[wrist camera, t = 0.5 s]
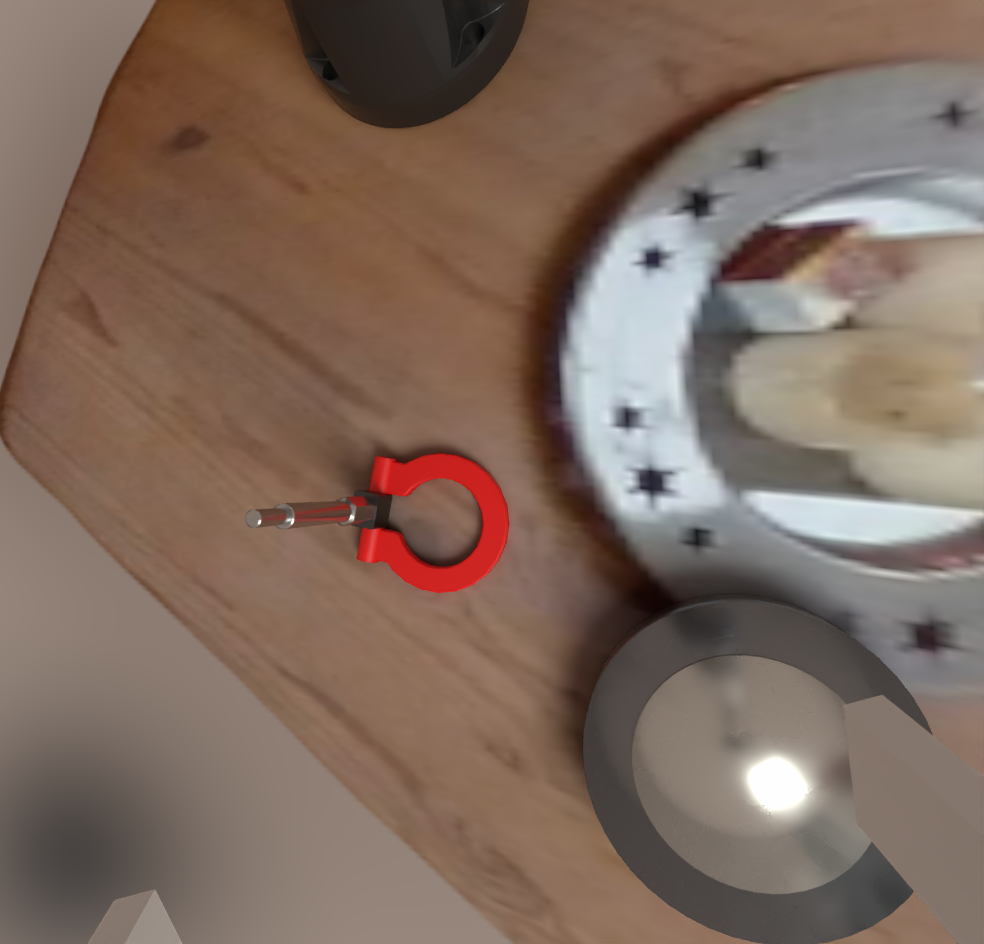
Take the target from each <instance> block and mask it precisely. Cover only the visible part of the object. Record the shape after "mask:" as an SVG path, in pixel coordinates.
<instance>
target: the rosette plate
mask: <svg viewBox="0 0 984 944" xmlns="http://www.w3.org/2000/svg"><path fill="white" fill-rule="evenodd" d="M880 695H883V696H885V697H886V698H887V699H888V700H890V701H891V702H892V703H893V704H895V705H896V706H897V707H898V708H899V709H901V710H902V711H903V712H904V713H906V714H907V715H908V716H909V717H911V718H912V719H913V720H914V721H916V722H917V723H918V724H919V725H920V726H922V727H923V728H924V729H925V730H927V731H928V732H929V733H930V734H932V732H931V730H930V728H929V725H928V723H927V721H926V718H925V717H924V715H923V713H922V712H921V710H920V708H919V707H918V705H917V703H916V702H915V700H914V698H913V697H912V695H911V694H910V693H909V692H908V690H907V689H906V688H905V686H904V685H903V684H902V683H901V681H900V680H899V679H898V677H897V676H896V675H895V674H894V673H893V672H892V671H891V670H890V669H889V668H888V667H887V666H886V665H885V664H884V663H883V662H882V661H881V660H880V659H879V658H878V657H877V656H875V655H874V654H873V653H872V652H870V651H869V650H868V649H867V648H865V647H864V646H863V645H861V644H860V643H859V642H858V641H856V640H855V639H853V638H852V637H850V636H849V635H847V634H846V633H844V632H843V631H841V630H840V629H838V628H837V627H835V626H834V625H832V624H830V623H829V622H827V621H825V620H824V619H822V618H821V617H819V616H817V615H814V614H812V613H810V612H808V611H806V610H804V609H802V608H800V607H797V606H794V605H791V604H788V603H785V602H782V601H779V600H774V599H770V598H765V597H760V596H754V595H743V594H715V595H708V596H702V597H696V598H692V599H688V600H685V601H682V602H678V603H675V604H673V605H671V606H668V607H666V608H664V609H662V610H659V611H657V612H656V613H654V614H652V615H651V616H649V617H648V618H646V619H644V620H643V621H641V622H640V623H639V624H638V625H637V626H635V627H634V628H633V629H632V630H631V631H629V632H628V633H627V634H626V635H625V636H624V638H623V639H622V640H621V641H620V642H619V643H618V644H617V645H616V646H615V648H614V649H613V651H612V652H611V654H610V655H609V657H608V658H607V660H606V661H605V663H604V665H603V667H602V669H601V671H600V673H599V676H598V678H597V681H596V684H595V687H594V690H593V693H592V696H591V700H590V703H589V707H588V710H587V715H586V721H585V727H584V735H583V760H584V772H585V777H586V782H587V786H588V791H589V795H590V798H591V801H592V804H593V806H594V809H595V812H596V815H597V817H598V819H599V821H600V823H601V825H602V827H603V830H604V832H605V834H606V835H607V837H608V839H609V840H610V842H611V843H612V845H613V847H614V848H615V850H616V851H617V853H618V854H619V856H620V857H621V858H622V859H623V861H624V862H625V863H626V865H627V866H628V867H629V868H630V870H631V871H632V872H633V873H634V874H635V875H636V876H637V877H638V878H639V879H640V880H641V881H642V882H643V883H644V884H645V885H646V886H647V887H648V888H649V889H650V890H651V891H652V892H653V893H655V894H656V895H657V896H658V897H660V898H661V899H662V900H663V901H664V902H666V903H667V904H668V905H670V906H671V907H673V908H674V909H676V910H677V911H679V912H681V913H682V914H684V915H685V916H687V917H688V918H690V919H692V920H694V921H696V922H698V923H700V924H702V925H704V926H706V927H708V928H710V929H713V930H716V931H718V932H721V933H724V934H726V935H729V936H732V937H735V938H739V939H744V940H748V941H752V942H756V943H763V944H819V943H826V942H831V941H834V940H838V939H841V938H845V937H848V936H852V935H854V934H856V933H858V932H860V931H863V930H865V929H867V928H869V927H871V926H873V925H875V924H876V923H878V922H879V921H881V920H882V919H884V918H885V917H887V916H889V915H890V914H892V913H893V912H894V911H895V910H896V909H897V908H898V907H899V906H900V905H901V904H903V903H904V902H905V901H906V900H907V899H908V898H909V897H910V895H911V894H912V893H913V892H914V891H913V890H912V888H911V887H910V886H909V885H908V884H907V882H906V881H905V880H904V879H903V878H902V877H901V875H900V874H899V873H898V872H897V871H896V869H895V868H894V867H893V866H892V865H891V864H890V862H889V861H888V860H887V859H886V858H885V856H884V855H883V854H882V853H881V852H880V851H879V849H878V848H877V847H876V846H875V845H874V843H873V842H872V841H871V840H870V839H869V838H868V836H867V835H866V834H865V833H864V832H863V830H862V829H861V828H860V827H859V826H858V825H857V820H856V811H855V803H854V795H853V786H852V778H851V770H850V761H849V753H848V745H847V737H846V728H845V720H844V712H843V705H846V704H850V703H853V702H857V701H861V700H865V699H868V698H872V697H876V696H880ZM932 735H933V734H932Z"/></svg>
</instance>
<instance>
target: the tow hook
mask: <svg viewBox="0 0 984 944" xmlns="http://www.w3.org/2000/svg"><path fill="white" fill-rule="evenodd" d="M438 478H446V479H452V480H454V481H456V482H458V483H461V484H462V485H463V486H465V487H466V488H467V489H468V490H470V491H471V493H472V494H473V496H474V497H475V498H476V500H477V501H478V504H479V507H480V509H481V512H482V520H483V527H482V534H481V538H480V540H479V542H478V545H477V547H476V548H475V550H474V551H473V552H472V553H471V555H470V556H469V557H467V558H466V559H465V560H463V561H462V562H461V563H458V564H455V565H453V566H443V567H441V566H436V565H431V564H429V563H427V562H424V561H422V560H421V559H419V558H418V557H417V556H416V555H415V554H414V553H412V551H411V550H410V548H409V547H408V545H407V544H406V542H405V539H404V536H403V534H401V533H400V532H398V531H393V530H389V529H385V527H387V524H388V518H389V513H390V507H391V502H392V494H393V495H398V496H408V495H410V494H411V493H412V491H413V490H414V489H416V488H417V487H418V486H420V485H421V484H422V483H424V482H427V481H429V480H431V479H438ZM245 521H246V524H247V525H248V526H249V527H251V528H258V527H268V526H276V527H277V528H279V529H292V528H300V527H308V526H317V525H325V524H334V523H338V524H339V525H340V526H348V525H352V526H357V527H361V528H362V531H361V537H360V542H359V548H358V553H357V559H358V560H360V561H363V562H368V563H375V562H379V561H382V562H387V563H388V564H389V566H390V567H391V569H392V570H393V571H394V572H395V573H396V574H397V575H399V576H400V577H401V578H402V579H403V580H404V581H405V582H407V583H409V584H411V585H413V586H415V587H417V588H419V589H421V590H427V591H432V592H437V593H442V592H454V591H458V590H461V589H463V588H466V587H468V586H471V585H473V584H475V583H476V582H477V581H479V580H480V579H481V578H483V577H484V576H485V575H487V574H488V573H489V572H490V571H491V570H492V568H493V567H494V566H495V564H496V563H497V562H498V561H499V559H500V557H501V555H502V553H503V550H504V548H505V545H506V543H507V538H508V530H509V516H508V507H507V503H506V501H505V498H504V496H503V493H502V491H501V488H500V487H499V486H498V484H497V483H496V481H495V480H494V479H493V477H492V476H491V475H490V474H489V473H488V472H487V471H486V470H484V469H483V468H482V467H481V466H479V465H478V464H477V463H475V462H473V461H471V460H468V459H466V458H464V457H461V456H458V455H450V454H443V453H437V454H430V455H423V456H421V457H419V458H416V459H414V460H412V461H409V462H407V463H406V464H405V463H400V462H397V460H396V459H393V458H388V457H382V456H375V460H374V465H373V471H372V476H371V482H370V487H369V490H357V491H355V494H354V497H344V498H341V499H339V500H336V501H329V502H304V503H282V504H278V505H277V506H276V507H275V508H272V509H253V510H250V511H248V512H247V514H246V517H245Z"/></svg>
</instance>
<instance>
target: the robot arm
mask: <svg viewBox="0 0 984 944" xmlns="http://www.w3.org/2000/svg"><path fill="white" fill-rule="evenodd" d="M284 1H285V4H286V7H287V9H288V12H289V15H290V18H291V20H292V23H293V26H294V29H295V32H296V34H297V37H298V40H299V43H300V46H301V48H302V51H303V54H304V56H305V58H306V60H307V62H308V64H309V66H310V68H311V70H312V71H313V73H314V74H315V76H316V77H317V79H318V80H319V81H320V83H321V84H322V85H323V86H324V88H325V89H326V90H327V92H328V93H329V94H330V95H331V97H332V98H333V99H334V100H335V102H336V103H337V104H338V105H339V106H340V107H341V108H342V109H344V110H345V111H346V112H347V113H349V114H350V115H351V116H353V117H355V118H357V119H359V120H361V121H363V122H365V123H368V124H371V125H375V126H380V127H387V128H404V127H412V126H418V125H422V124H426V123H429V122H432V121H434V120H437V119H439V118H442V117H444V116H446V115H448V114H450V113H451V112H453V111H455V110H457V109H458V108H460V107H461V106H463V105H464V104H466V103H467V102H468V101H470V100H471V99H472V98H473V97H475V96H476V95H477V94H478V93H479V92H480V91H481V90H482V89H483V88H484V87H485V86H486V85H487V84H488V83H489V82H490V81H491V80H492V79H493V78H494V76H495V75H496V74H497V73H498V71H499V70H500V69H501V67H502V66H503V65H504V63H505V62H506V60H507V58H508V57H509V55H510V53H511V52H512V50H513V48H514V46H515V44H516V42H517V39H518V37H519V35H520V32H521V29H522V27H523V23H524V20H525V16H526V12H527V7H528V1H529V0H284ZM843 712H844V720H845V728H846V737H847V745H848V753H849V761H850V770H851V778H852V786H853V795H854V803H855V811H856V820H857V825H858V826H859V827H860V828H861V829H862V830H863V832H864V833H865V834H866V835H867V836H868V838H869V839H870V840H871V841H872V842H873V843H874V845H875V846H876V847H877V848H878V849H879V851H880V852H881V853H882V854H883V855H884V856H885V858H886V859H887V860H888V861H889V862H890V864H891V865H892V866H893V867H894V868H895V869H896V871H897V872H898V873H899V874H900V875H901V877H902V878H903V879H904V880H905V881H906V882H907V884H908V885H909V886H910V887H911V888H912V890H913V891H914V892H915V893H916V894H917V896H918V897H919V898H920V899H921V900H922V901H923V903H924V904H925V905H926V906H927V907H928V909H929V910H930V911H931V912H932V913H933V914H934V916H935V917H936V918H937V919H938V920H939V922H940V923H941V924H942V925H943V926H944V927H945V929H946V930H947V931H948V932H949V933H950V935H951V936H952V937H953V938H954V939H955V940H956V942H957V943H958V944H984V777H983V776H982V775H981V774H980V773H979V772H977V771H976V770H975V769H974V768H972V767H971V766H970V765H969V764H967V763H966V762H965V761H964V760H962V759H961V758H960V757H959V756H958V755H956V754H955V753H954V752H953V751H951V750H950V749H949V748H948V747H946V746H945V745H944V744H943V743H941V742H940V741H939V740H938V739H937V738H935V737H934V736H933V735H932V734H930V733H929V732H928V731H927V730H925V729H924V728H923V727H922V726H920V725H919V724H918V723H917V722H916V721H914V720H913V719H912V718H911V717H909V716H908V715H907V714H906V713H904V712H903V711H902V710H901V709H899V708H898V707H897V706H896V705H895V704H893V703H892V702H891V701H890V700H888V699H887V698H886V697H885V696H883V695H880V696H876V697H872V698H868V699H865V700H861V701H857V702H853V703H850V704H846V705H843ZM88 944H182V942H181V940H180V938H179V936H178V934H177V932H176V930H175V928H174V926H173V924H172V922H171V920H170V918H169V916H168V914H167V912H166V910H165V908H164V906H163V904H162V902H161V900H160V898H159V896H158V894H157V893H156V890H150V891H147V892H143V893H139V894H135V895H132V896H128V897H124V898H120V899H117V900H114V902H113V903H112V905H111V907H110V908H109V910H108V911H107V913H106V915H105V916H104V918H103V920H102V921H101V923H100V924H99V926H98V928H97V929H96V931H95V932H94V934H93V936H92V937H91V939H90V940H89V942H88Z"/></svg>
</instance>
